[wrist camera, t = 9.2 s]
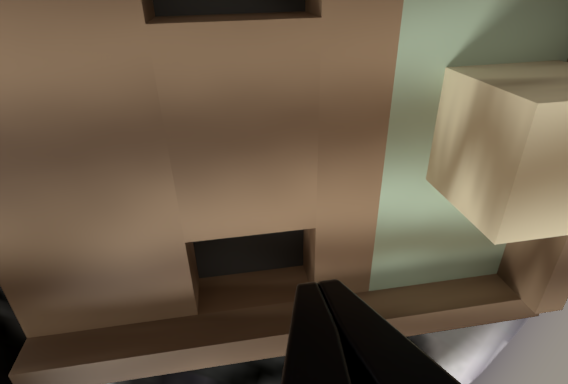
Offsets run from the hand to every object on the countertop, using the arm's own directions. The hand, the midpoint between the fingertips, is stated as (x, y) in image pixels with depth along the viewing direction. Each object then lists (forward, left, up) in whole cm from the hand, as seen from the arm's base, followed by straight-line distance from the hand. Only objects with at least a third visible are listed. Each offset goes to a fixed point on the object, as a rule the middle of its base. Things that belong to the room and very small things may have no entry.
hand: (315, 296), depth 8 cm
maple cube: (0, -10, -9) cm, 13 cm away
